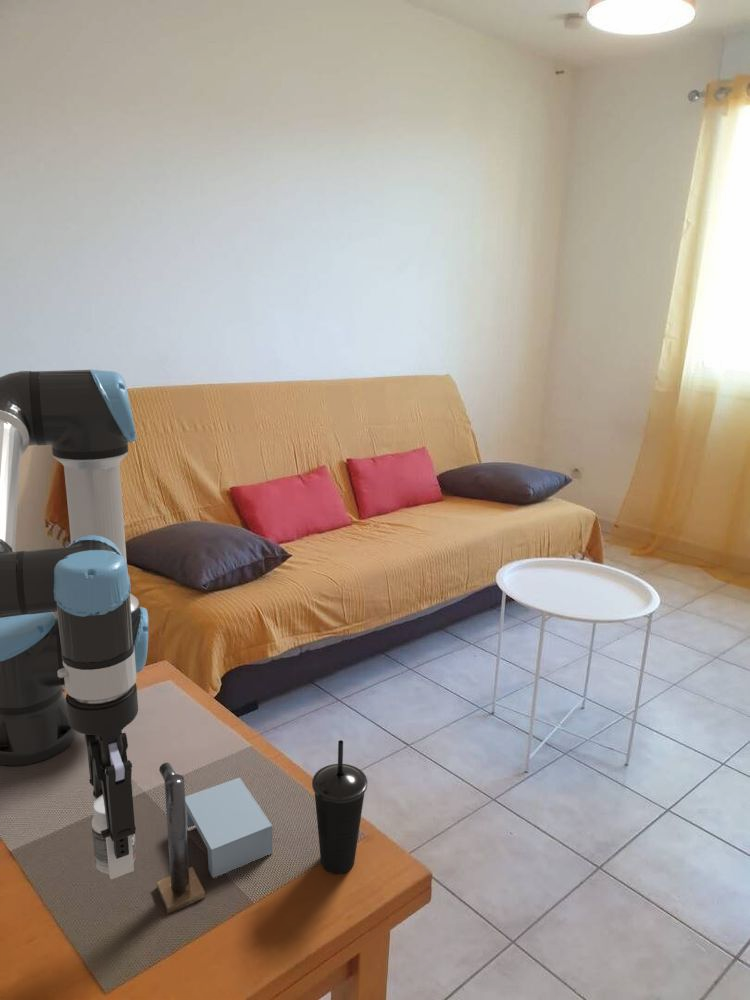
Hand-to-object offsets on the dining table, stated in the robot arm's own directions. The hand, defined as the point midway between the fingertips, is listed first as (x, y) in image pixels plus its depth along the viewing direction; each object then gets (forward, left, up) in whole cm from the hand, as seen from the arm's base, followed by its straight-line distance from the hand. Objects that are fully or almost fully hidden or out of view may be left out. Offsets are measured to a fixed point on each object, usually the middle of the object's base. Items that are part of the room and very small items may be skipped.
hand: (116, 857), depth 87 cm
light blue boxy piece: (-8, +17, -12) cm, 22 cm away
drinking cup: (+4, +29, -12) cm, 32 cm away
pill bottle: (0, 0, -1) cm, 1 cm away
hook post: (-2, +8, -12) cm, 15 cm away
